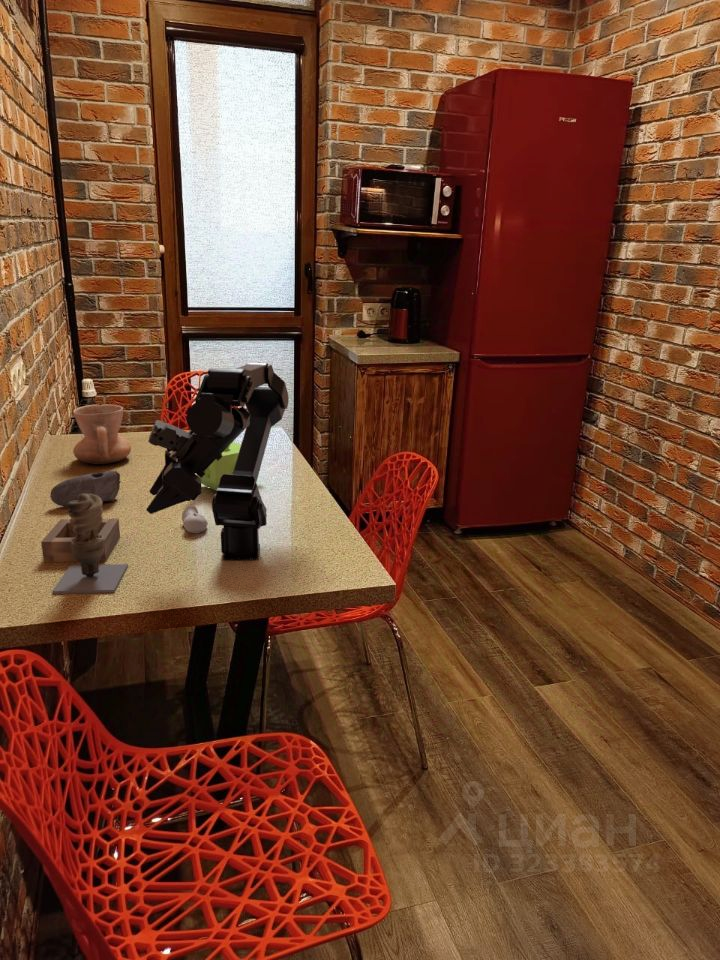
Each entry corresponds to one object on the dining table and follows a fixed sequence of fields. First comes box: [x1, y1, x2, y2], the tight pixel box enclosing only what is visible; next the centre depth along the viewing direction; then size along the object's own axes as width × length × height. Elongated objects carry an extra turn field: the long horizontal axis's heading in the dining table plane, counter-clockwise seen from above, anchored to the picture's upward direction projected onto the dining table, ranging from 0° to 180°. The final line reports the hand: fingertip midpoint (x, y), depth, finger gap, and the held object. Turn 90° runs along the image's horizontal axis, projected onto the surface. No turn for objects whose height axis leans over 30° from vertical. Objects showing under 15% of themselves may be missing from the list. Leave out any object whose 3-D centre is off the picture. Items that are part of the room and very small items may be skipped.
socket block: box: [40, 518, 121, 563], centre depth 131 cm, size 11×11×4 cm
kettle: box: [196, 441, 242, 491], centre depth 166 cm, size 15×14×11 cm
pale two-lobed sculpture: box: [181, 505, 209, 534], centre depth 143 cm, size 4×8×5 cm
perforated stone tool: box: [49, 470, 121, 508], centre depth 154 cm, size 15×5×7 cm, turn 116°
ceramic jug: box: [72, 403, 132, 465], centre depth 183 cm, size 18×14×14 cm
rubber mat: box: [51, 563, 129, 595], centre depth 120 cm, size 10×10×1 cm
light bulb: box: [66, 493, 104, 577], centre depth 118 cm, size 6×6×15 cm
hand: (149, 502), depth 118 cm, fingers open, 9 cm apart
